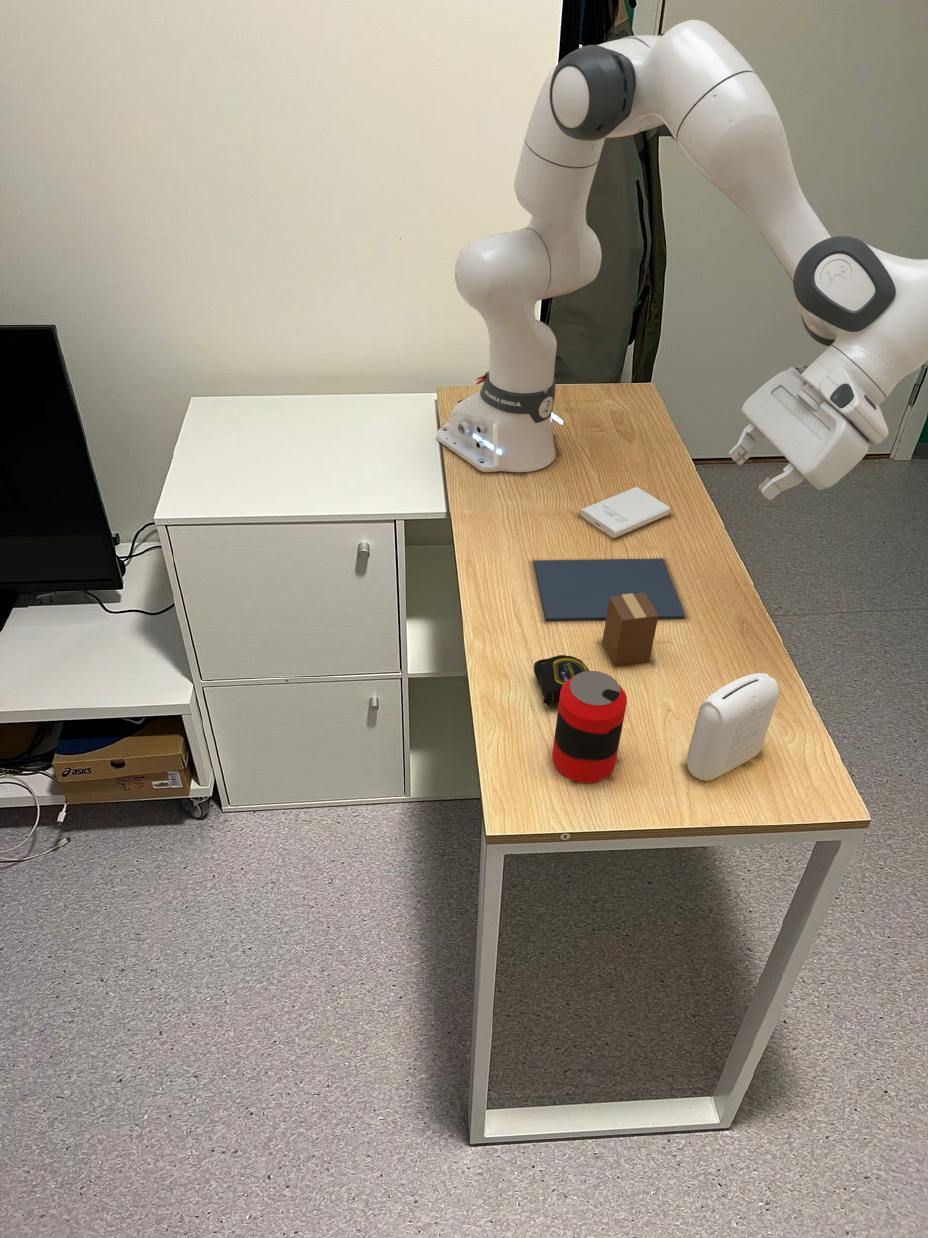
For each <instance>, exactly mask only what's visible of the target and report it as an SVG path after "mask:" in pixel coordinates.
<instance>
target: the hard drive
mask: <svg viewBox="0 0 928 1238" xmlns="http://www.w3.org/2000/svg"><path fill="white" fill-rule="evenodd" d="M579 513H580V514H579V516H580V517H581V518H582V519H583V520H585V521H587V522H588V523H589V524H591V525H592V526H593V527H595V528H596V529H598V530H599V531H601V532H602V533H604V534H605V535H607V536H608V537H610V538H612V539H616V538H618V537H621V536H623V535H626V534H628V533H630V532H632V531H635V530H637V529H640V528H642V527H644V526H646V525H648V524H651V523H653V522H655V521H658V520H659V519H662V518H664V517H667V516H669V515H670V513H671V507H670V506H669V505H667V504H666V503H663V502H662V501H661V500H659V499H657V498H656V497H654V496H653V495H651V494H650V493H648V492H646V491H644V490H643V488H642V489H641V488H640V487H638V486H635V487H634V486H633V488H630V489H627V490H625V491H622V492H619V493H617V494H615V495H613V496H610V497H608V498H605V499H603V500H601V501H597V502H596V503H593V504H590V505H588V506H586V507H583V508H581V509H580V512H579Z"/></svg>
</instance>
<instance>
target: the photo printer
mask: <svg viewBox="0 0 928 1238" xmlns="http://www.w3.org/2000/svg"><path fill="white" fill-rule="evenodd" d="M779 696H780V689H779V686H778V683H777V680H776V679H775V678H774V677H771V676H770V675H769V674H768V673H767V672H758V673H757V672H756V673H751V674H748V675H747V674H746V675H744V676H742V677H739V678H736V679H735V680H733V681H730V682H728V683H727V684H725V685H724V686H722V687H720V688H718V689H717V690H715V691H714V692H713V693H711V694H710V695H709V696H708V697H706V699H705V700H703V702H702V703H701V704H700V706H699V709H698V713H697V715H696V720H695V724H694V728H693V732H692V735H691V739H690V742H689V747H688V750H687V754H686V758H685V763H686V765H687V770H688V771H689V773H690V774H691V776H693V777H694V778H696V779H698V780H699V781H705V782H709V781H712V780H715V779H716V778H718V777H719V778H720V777H721V776H724V774H725V775H726V774H727V773H728V772H730V771H733V770H734V769H736V768H738V767H739V766H741V765H743V764H745V763H746V762H748V761H750V760H752V759H753V758H755V757H757V755H758V754H760V752H761V750H762V748H763V745H764V742H765V739H766V735H767V733H768V730H769V726H770V724H771V720H772V718H773V714H774V712H775V709H776V705H777V702H778V699H779Z"/></svg>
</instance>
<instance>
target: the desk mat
mask: <svg viewBox="0 0 928 1238" xmlns="http://www.w3.org/2000/svg"><path fill="white" fill-rule="evenodd" d="M665 563H666V562H665V560H664V558H618V559H617V558H613V559H609V558H608V559H547V560H545V559H544V560H541V559H540V560H539V559H538V560H534V561H533V566H534V570H535V575H536V580H537V585H538V590H539V595H540V599H541V604H542V609H543V613H544V619H545V621H546V622H555V621H559V622H560V621H604V620H605V621H606V615H607V609H608V603H609V597H615V596H621V595H623V594H631V593H633V594H639V593H645V595H646V596H647V598H648V599H649V601H650V603H651V604H652V606H653V607H654V609H655V611H656V612H657V614H658V620H660V619H661V620H662V619H663V620H664V619H665V620H669V619H671V620H672V619H686V618H685V617H686V615H685V612H684V610H683V607H682V605H681V602H680V599H679V596H678V594H677V592H676V589H675V587H674V583H673V581H672V578H671V576H670V573H669V571H668V569H667V566H666V564H665Z"/></svg>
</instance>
